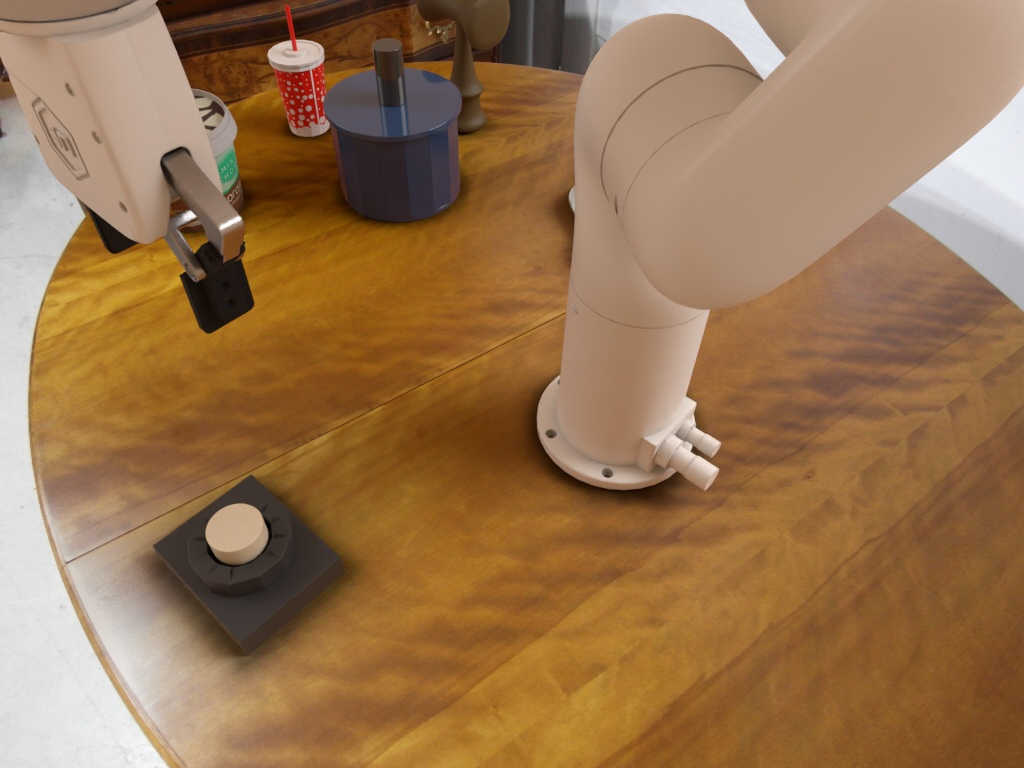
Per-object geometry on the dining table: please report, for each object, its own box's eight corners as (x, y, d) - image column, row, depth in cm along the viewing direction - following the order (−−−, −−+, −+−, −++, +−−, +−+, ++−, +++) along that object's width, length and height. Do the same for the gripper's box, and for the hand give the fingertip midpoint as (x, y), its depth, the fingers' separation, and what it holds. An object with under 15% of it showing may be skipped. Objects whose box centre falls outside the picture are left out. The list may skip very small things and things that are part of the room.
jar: (483, 185, 84) (482, 104, 77) (398, 238, 78) (388, 155, 71) (404, 142, 90) (397, 63, 83) (319, 188, 84) (302, 106, 76)
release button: (280, 539, 51) (274, 525, 50) (233, 576, 49) (226, 562, 48) (247, 507, 53) (241, 493, 51) (201, 542, 51) (193, 528, 50)
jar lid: (490, 109, 78) (489, 43, 73) (389, 164, 71) (381, 96, 66) (397, 65, 84) (391, 1, 79) (296, 112, 77) (282, 45, 72)
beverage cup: (319, 108, 95) (298, -12, 84) (346, 128, 92) (327, 7, 81) (274, 124, 92) (246, 2, 82) (300, 146, 89) (274, 22, 79)
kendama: (473, 150, 89) (469, -36, 74) (420, 117, 94) (406, -64, 79) (511, 131, 92) (514, -51, 77) (457, 100, 96) (451, -77, 81)
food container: (239, 243, 77) (211, 154, 70) (177, 241, 77) (143, 152, 70) (267, 173, 85) (246, 86, 78) (211, 171, 85) (184, 85, 78)
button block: (345, 572, 54) (336, 543, 51) (248, 656, 49) (232, 630, 46) (258, 490, 58) (245, 459, 55) (162, 561, 54) (142, 531, 51)
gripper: (-124, -71, 34) (43, 243, 47) (74, 61, 26) (209, 392, 39) (43, -109, 38) (156, 191, 50) (258, -3, 30) (326, 317, 43)
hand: (179, 278), depth 45 cm, fingers open, 9 cm apart
